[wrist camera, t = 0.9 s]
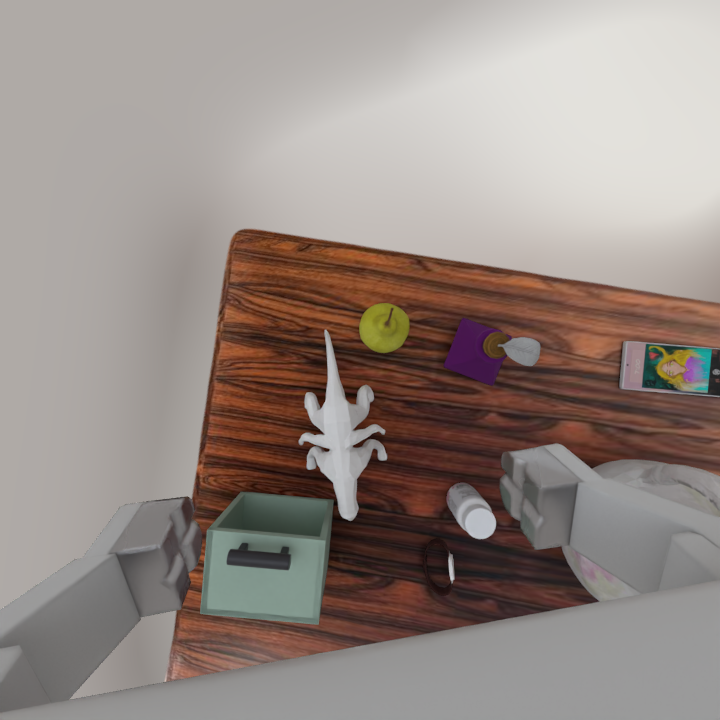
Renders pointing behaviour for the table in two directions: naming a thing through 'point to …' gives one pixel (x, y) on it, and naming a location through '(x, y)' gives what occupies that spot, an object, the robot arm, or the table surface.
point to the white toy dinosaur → (341, 436)
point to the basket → (268, 558)
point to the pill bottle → (471, 510)
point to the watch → (448, 589)
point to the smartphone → (670, 369)
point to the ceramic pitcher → (658, 479)
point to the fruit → (384, 327)
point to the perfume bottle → (487, 351)
